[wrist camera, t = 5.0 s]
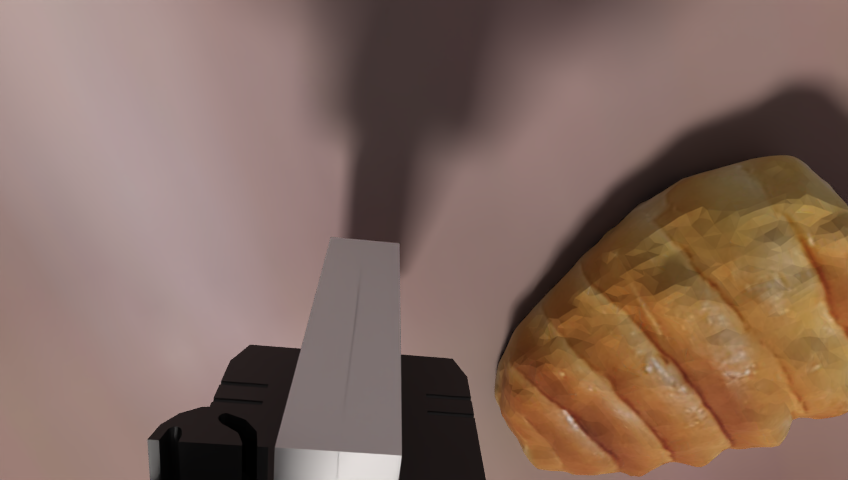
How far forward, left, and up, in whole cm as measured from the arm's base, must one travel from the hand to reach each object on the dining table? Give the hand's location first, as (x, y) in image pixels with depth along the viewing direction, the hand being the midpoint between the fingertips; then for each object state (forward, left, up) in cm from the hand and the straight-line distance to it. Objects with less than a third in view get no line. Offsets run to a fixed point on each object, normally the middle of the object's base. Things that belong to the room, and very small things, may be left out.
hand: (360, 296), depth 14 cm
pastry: (0, +8, -2) cm, 9 cm away
